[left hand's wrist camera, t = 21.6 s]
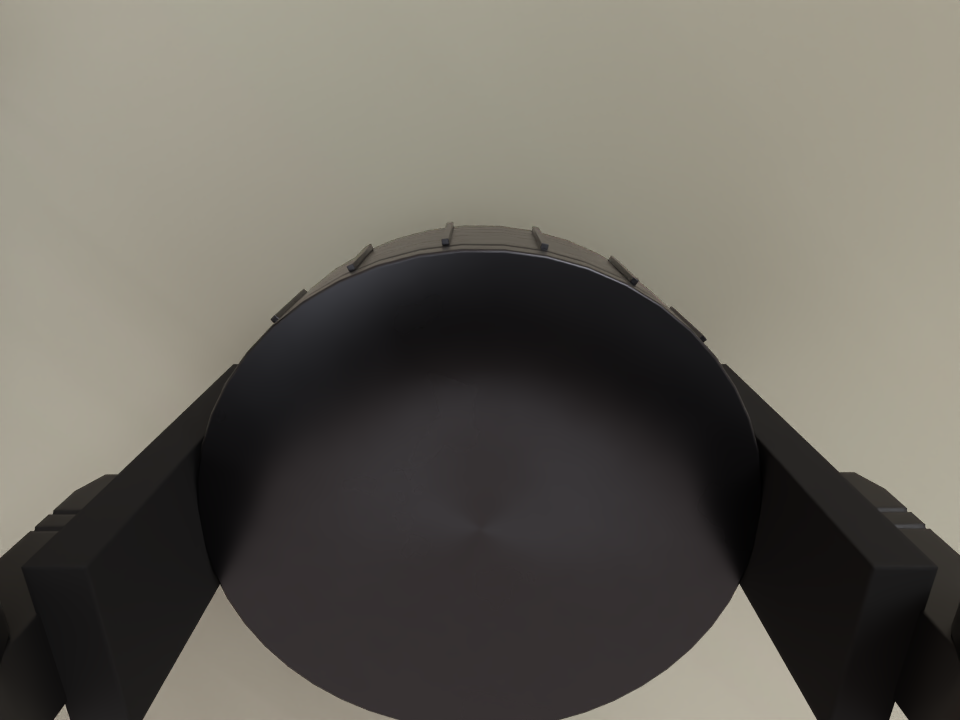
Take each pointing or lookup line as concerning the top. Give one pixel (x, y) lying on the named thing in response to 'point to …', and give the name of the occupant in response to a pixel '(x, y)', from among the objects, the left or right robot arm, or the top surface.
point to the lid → (479, 480)
